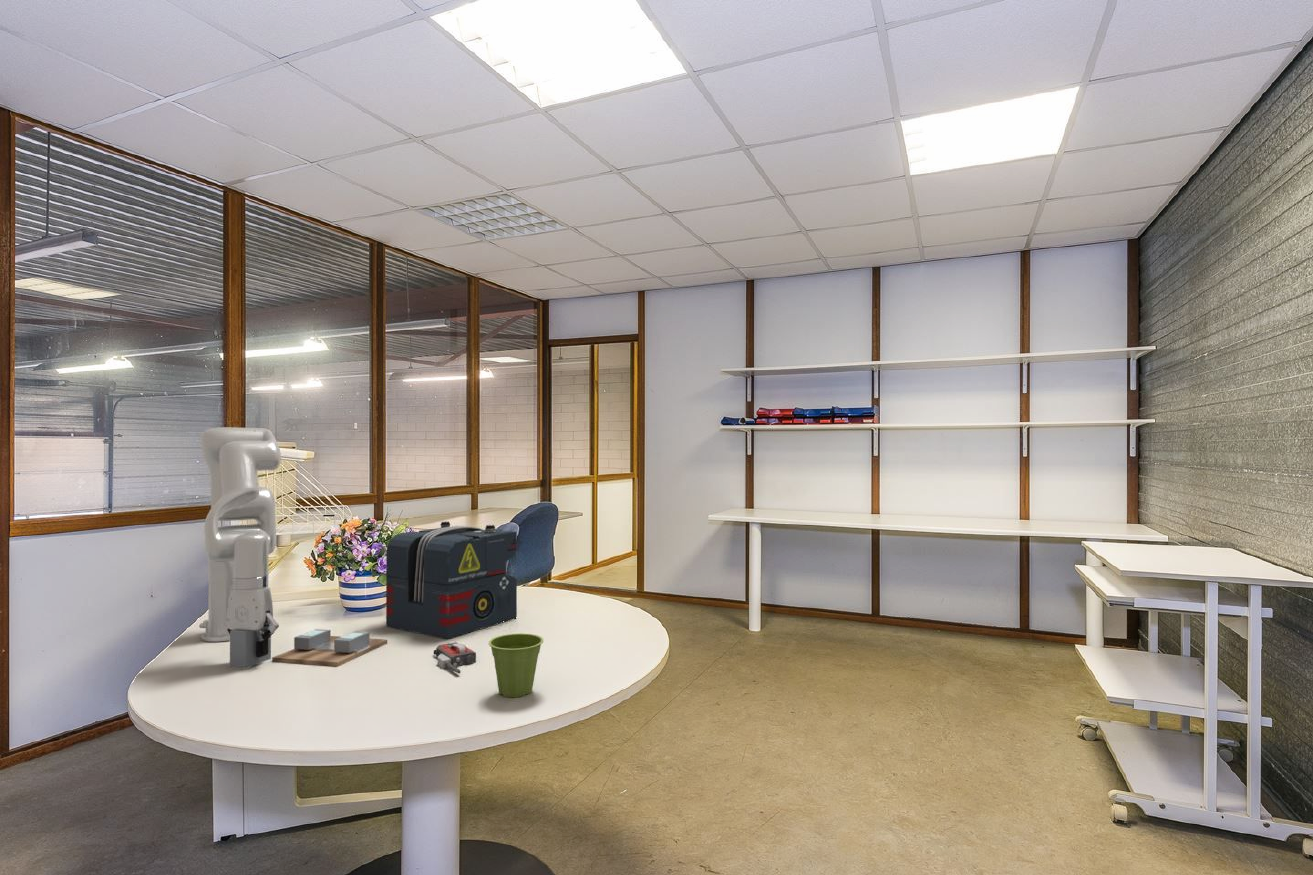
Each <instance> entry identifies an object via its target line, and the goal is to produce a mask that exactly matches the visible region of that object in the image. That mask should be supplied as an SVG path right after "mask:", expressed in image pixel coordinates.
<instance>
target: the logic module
mask: <svg viewBox="0 0 1313 875" xmlns="http://www.w3.org/2000/svg"><path fill="white" fill-rule="evenodd" d="M268 628H269V627H268ZM261 631H262V634H264V631H263V630H261ZM257 641H259V640H258V637H257V634H256V631H250V630H235V629H234V630H231V631H230V640H229V668H232V669H242V670H243V669H244V670H245V669H249V668H250V667H253V666H255V665H258V664H262V663H263V662H266V661H268V660H272V655H271V653H272V637H271V638H269V639H268V654H267V655H265V656H262V657H259V658H258V657H256V642H257Z"/></svg>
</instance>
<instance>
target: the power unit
mask: <svg viewBox="0 0 1313 875" xmlns="http://www.w3.org/2000/svg"><path fill="white" fill-rule="evenodd" d="M517 536H518V535H517V530H503V529H499V528H496V526H495V525H494V524H487V525H486V526H485V528H484V529H483V528H480V527H475V526H468V525H453V526H451V523H450V521H441V522H440V527H438V528H429V529H424V530H419V531H408V532H407V531H406V532H401V533H397V534H395V535H394V536H393V537H391V539H390V540H389V542H388V543H387V546H386V553H385V554H386V559H385V560H386V563H385V564H386V567H385V568H386V569H385V570H386V574H385V575H386V576H385V578H386V579H385V580H386V581H385V582H386V583H385V585H386V586H385V594H386V595H385V596H386V598H385V599H386V600H385V601H386V602H385V606H386V607H385V610H386V611H385V615H386V616H385V618H386V621H385V623H386V624H385V625H386V626H385V627H388V628H389V627H390V628H394V629H396V630H397V629H398V630H403V631H406V632H413V633H416V634H422V635H427V636H431V637H436V638H441V639H444V640H450V639H453V638H457V637H459V636H463V635H466V634H469V633H473V632H476V631H480V630H482V629H486V628H489V627H492V625H493V626H495V625H494V624H496V625H498V624H497V623H499V624H501V623H500V622H502V623H504V622H503V621H505V622H508V620H509V621H511V619H512V620H514V618H515V619H517V618H516V617H518V616H517V614H518V612H517V610H518V605H517V604H518V603H517V600H518V599H517V598H518V596H517V595H518V594H517V589H518V588H517V587H518V586H517V584H518V582H517V581H518V579H517V577H516V576H513V575H509V574H507V562H508V561H509V560H511V559H512V558H514V557H516V555H517V554H518V553H517V552H518V550H517V548H518V546H517V544H518V543H517V538H518V537H517Z"/></svg>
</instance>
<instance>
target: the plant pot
mask: <svg viewBox="0 0 1313 875" xmlns="http://www.w3.org/2000/svg"><path fill="white" fill-rule="evenodd" d="M543 643H544V638H543V637H542V636H540V635H537V634H532V633H522V632H521V633H507V634H502V635H498V636H495V637H493V638H491V639H490V640H488V645H489V647H491V648H490V649H491V654H492V657H493V662H494V668H495V673H496V674H495V675H496V680H497V681H496V682H497V688H498V693H499V694H500V695H502V696H504V697H507V698H519V697H522V696H524V695H529V694H530V693H532V692H533V688H534V683H535V682H534V680H535V676H536V670H537V663H538V657H539V655H540V653H541V652H540V651H541V646H542V644H543Z"/></svg>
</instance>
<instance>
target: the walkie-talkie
mask: <svg viewBox="0 0 1313 875" xmlns="http://www.w3.org/2000/svg"><path fill="white" fill-rule="evenodd" d="M433 654H434V655H435V656H436V658H437V659H436V660H437V666H439V667H440V668H441V669H449V670H451V671H452V672H455V673H456V674H459V675H460V674H461V672H462V671H461V670H460V669H459V668H457V667H459V666H465V665H471V664H474V663H477V662H476V661H477V652H476V651H474V650H473V649H470V648H469V647H467V646H466V645H464V644H463V643H461V642H457V641H451V642H447V643H443V644H442V643H441V644H439V645H437V647H436V648H435V650H433Z"/></svg>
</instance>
